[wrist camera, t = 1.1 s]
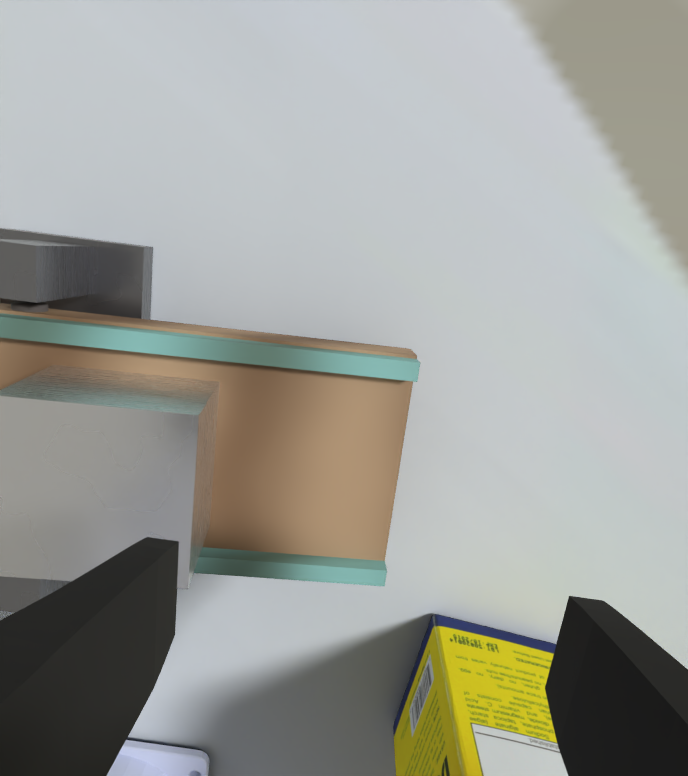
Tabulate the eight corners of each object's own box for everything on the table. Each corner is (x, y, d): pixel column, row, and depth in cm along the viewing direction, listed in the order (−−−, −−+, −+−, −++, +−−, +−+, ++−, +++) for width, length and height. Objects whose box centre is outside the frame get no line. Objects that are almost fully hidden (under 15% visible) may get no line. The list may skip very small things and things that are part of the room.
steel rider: (209, 526, 19) (187, 589, 15) (53, 513, 18) (-4, 575, 15) (219, 381, 17) (198, 415, 14) (53, 364, 17) (-11, 394, 14)
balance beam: (411, 343, 19) (421, 353, 17) (376, 564, 21) (383, 594, 19) (-310, 261, 17) (-381, 264, 15) (-269, 516, 19) (-328, 544, 17)
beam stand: (153, 247, 20) (95, 245, 16) (140, 560, 23) (90, 627, 19) (13, 229, 20) (-81, 223, 16) (19, 543, 23) (-58, 607, 19)
